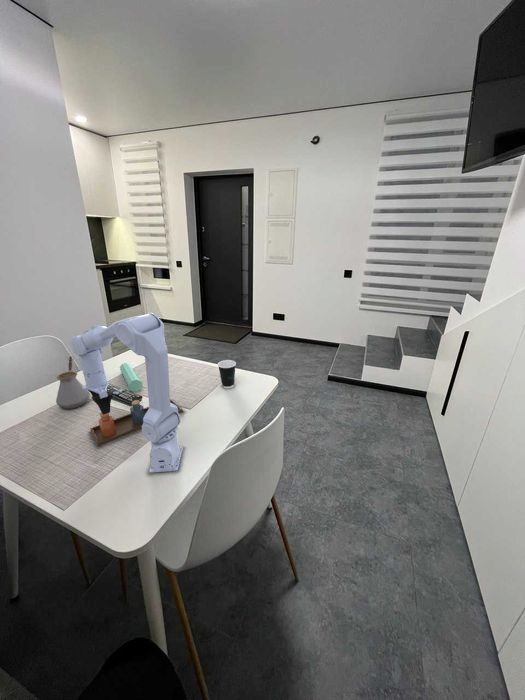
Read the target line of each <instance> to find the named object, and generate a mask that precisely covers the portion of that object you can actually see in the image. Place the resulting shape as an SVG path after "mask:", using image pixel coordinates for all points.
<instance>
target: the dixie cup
mask: <svg viewBox="0 0 525 700" xmlns="http://www.w3.org/2000/svg"><path fill="white" fill-rule="evenodd" d="M236 365H237V362H236V361H235V360H231V359H224V360H220V361H219V362H217V367H218V370H219V377H220V381H221V385H222V388H224V389H232V388H233V387H234V385H235V376H236Z"/></svg>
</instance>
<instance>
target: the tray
mask: <svg viewBox="0 0 525 700" xmlns="http://www.w3.org/2000/svg"><path fill="white" fill-rule="evenodd" d="M170 401H171V403H172V404H174V405H176V406H177V407H178V413H179V414H182V413H183V412H184V410H183V408H182V407H181V406H180V405H179V404H178V402H176V401H175V400H174V399H173V398H170ZM148 409H149V406H147V407H144V413H145V414H146V413H147V411H148ZM113 419H114V423H115V427H116V433H115V434H114V435H112V436H110V437H103V436H102V433H101V429H100V426H99V424H98V425H95V426H92V427H90V428H89V430H90V432H91V434H92V437H93V439H94V440H95V441H94V442H95V443H96V445H97V447H101V446H103V445H107V444H108V443H111V442H113V441H116V440H119V439H121V438H123V437H126V436H128V435H130V434H133V433H135V432H138V431H140V430H142V425H143V423H142V424H139V425H135V424H133V422H132V417H131V412H130V413H128V414H125V415H122V416H119V417H116V418H113Z"/></svg>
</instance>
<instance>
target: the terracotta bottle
mask: <svg viewBox="0 0 525 700" xmlns="http://www.w3.org/2000/svg"><path fill="white" fill-rule="evenodd" d="M99 416H100V418H99V419H98V421H97V422H98V425H99V426H100V429H101V433H102V436H103V437H110V436H112V435H114V434H115V433H116V427H115V423H114V419H115V418H114V417H113V415H110V413H107V414H104V415H103V414H102V412H101V411H100V413H99Z"/></svg>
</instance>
